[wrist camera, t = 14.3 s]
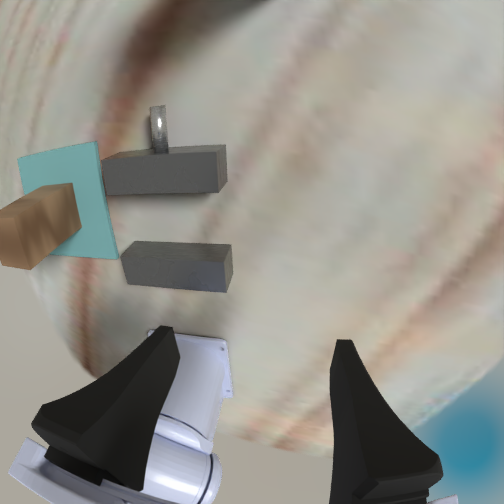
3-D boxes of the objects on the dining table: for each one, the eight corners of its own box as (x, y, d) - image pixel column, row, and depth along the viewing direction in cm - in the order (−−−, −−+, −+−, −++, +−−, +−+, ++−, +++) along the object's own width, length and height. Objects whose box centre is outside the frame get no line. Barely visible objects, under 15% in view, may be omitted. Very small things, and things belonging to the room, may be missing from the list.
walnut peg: (82, 227, 23) (30, 270, 17) (51, 226, 24) (2, 265, 17) (72, 182, 21) (13, 217, 15) (42, 185, 22) (-14, 218, 16)
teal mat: (119, 256, 24) (116, 259, 24) (43, 251, 26) (41, 253, 25) (97, 141, 20) (94, 142, 19) (20, 157, 21) (17, 159, 21)
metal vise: (233, 273, 24) (226, 292, 21) (140, 267, 25) (127, 284, 22) (223, 99, 17) (213, 100, 15) (115, 112, 18) (95, 117, 16)
